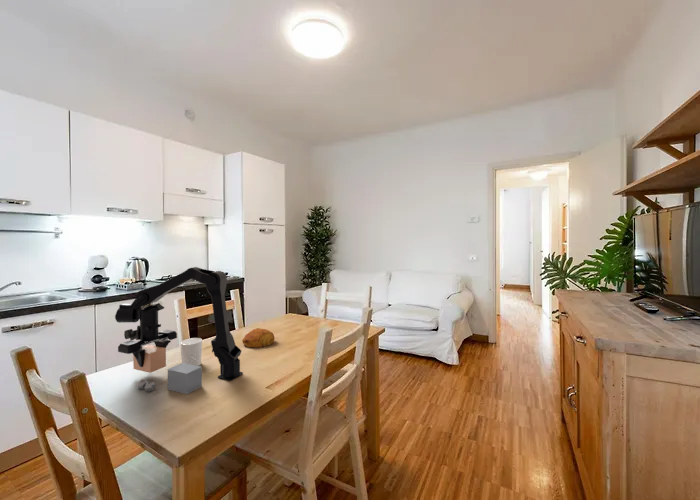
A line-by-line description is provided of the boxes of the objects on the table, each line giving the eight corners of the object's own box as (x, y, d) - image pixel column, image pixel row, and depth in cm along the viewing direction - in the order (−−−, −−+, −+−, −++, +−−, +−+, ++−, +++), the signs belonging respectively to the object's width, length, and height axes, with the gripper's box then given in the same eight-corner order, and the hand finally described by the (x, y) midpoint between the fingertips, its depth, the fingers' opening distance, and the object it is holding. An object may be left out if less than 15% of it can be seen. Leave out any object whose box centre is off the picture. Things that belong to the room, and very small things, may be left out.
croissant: (260, 341, 161) (259, 325, 161) (280, 342, 152) (278, 326, 152) (236, 348, 149) (235, 331, 150) (255, 350, 140) (254, 333, 140)
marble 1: (149, 387, 105) (149, 379, 105) (140, 391, 102) (140, 383, 102) (143, 386, 106) (143, 377, 106) (134, 390, 103) (134, 381, 103)
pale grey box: (201, 386, 106) (201, 366, 106) (187, 394, 101) (186, 373, 100) (183, 381, 109) (182, 362, 109) (167, 389, 104) (167, 369, 104)
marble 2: (157, 389, 103) (157, 381, 103) (148, 393, 101) (148, 385, 101) (151, 388, 105) (151, 379, 104) (142, 392, 102) (142, 383, 102)
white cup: (193, 370, 119) (193, 344, 119) (176, 368, 121) (175, 343, 121) (206, 362, 127) (206, 338, 127) (190, 360, 129) (189, 337, 128)
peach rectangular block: (166, 366, 114) (165, 348, 114) (150, 372, 108) (150, 353, 108) (149, 362, 117) (149, 344, 117) (133, 368, 111) (133, 350, 111)
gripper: (157, 314, 124) (158, 352, 124) (107, 326, 106) (108, 370, 107) (177, 317, 120) (178, 355, 120) (128, 330, 102) (129, 375, 103)
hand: (149, 363), depth 113 cm, fingers closed on peach rectangular block, 6 cm apart
